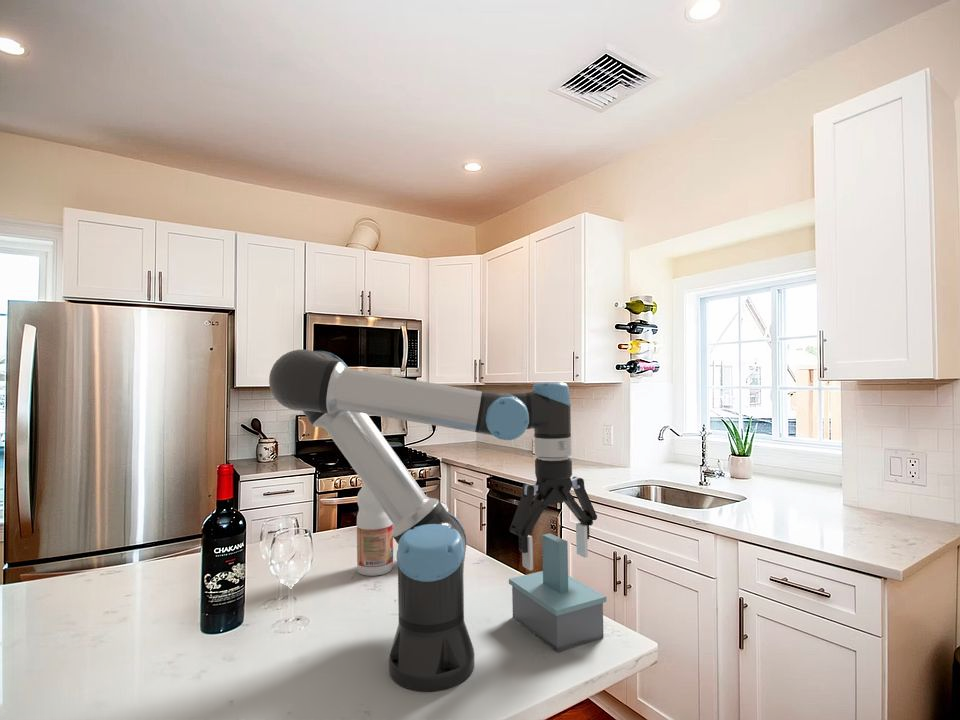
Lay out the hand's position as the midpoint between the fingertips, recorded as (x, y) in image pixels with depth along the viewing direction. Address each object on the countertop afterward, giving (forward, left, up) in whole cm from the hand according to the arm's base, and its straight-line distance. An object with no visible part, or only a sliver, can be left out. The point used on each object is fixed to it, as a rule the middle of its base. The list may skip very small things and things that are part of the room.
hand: (555, 561), depth 107 cm
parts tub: (0, 0, -13) cm, 13 cm away
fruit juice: (+18, +51, -13) cm, 56 cm away
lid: (0, 0, -6) cm, 6 cm away
